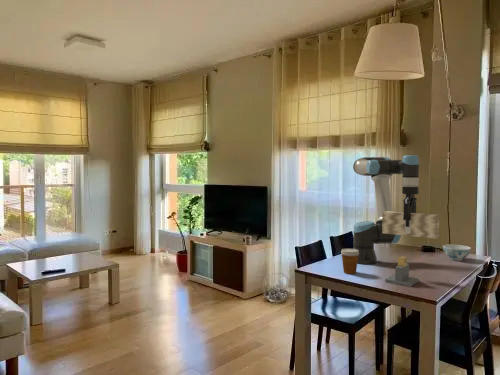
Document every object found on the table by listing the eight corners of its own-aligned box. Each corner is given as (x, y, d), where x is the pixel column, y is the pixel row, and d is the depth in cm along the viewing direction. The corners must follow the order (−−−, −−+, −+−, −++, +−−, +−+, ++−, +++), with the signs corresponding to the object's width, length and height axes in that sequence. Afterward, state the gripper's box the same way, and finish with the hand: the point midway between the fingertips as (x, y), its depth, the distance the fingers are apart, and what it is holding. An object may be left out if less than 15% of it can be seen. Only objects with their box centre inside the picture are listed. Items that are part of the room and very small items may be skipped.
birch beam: (382, 233, 202) (382, 212, 201) (385, 232, 205) (385, 211, 205) (436, 238, 185) (436, 215, 185) (438, 237, 189) (439, 214, 189)
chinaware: (457, 256, 244) (457, 243, 243) (476, 261, 229) (477, 248, 229) (436, 257, 240) (437, 245, 240) (455, 263, 225) (455, 250, 225)
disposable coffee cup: (337, 272, 206) (337, 250, 206) (346, 269, 213) (346, 247, 212) (353, 276, 200) (353, 252, 199) (362, 272, 206) (362, 250, 206)
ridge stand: (385, 282, 189) (385, 257, 188) (394, 276, 198) (394, 253, 197) (410, 287, 181) (411, 261, 181) (418, 281, 190) (419, 256, 190)
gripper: (412, 187, 185) (411, 235, 186) (423, 185, 199) (422, 231, 200) (396, 186, 190) (395, 234, 191) (408, 185, 204) (407, 229, 205)
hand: (409, 232), depth 195 cm, fingers closed on birch beam, 5 cm apart
